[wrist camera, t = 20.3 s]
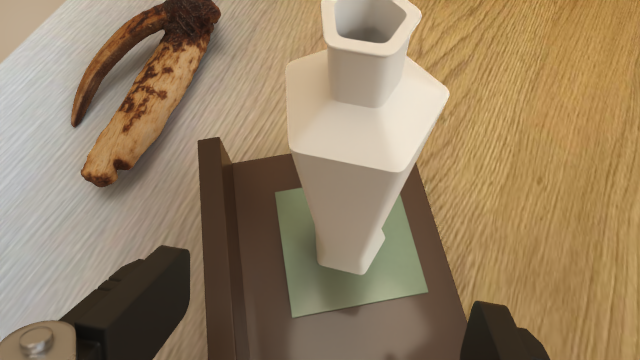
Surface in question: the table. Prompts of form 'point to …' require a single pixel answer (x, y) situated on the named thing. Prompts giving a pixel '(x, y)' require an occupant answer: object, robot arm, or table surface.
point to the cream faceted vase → (358, 124)
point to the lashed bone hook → (144, 82)
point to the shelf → (317, 273)
